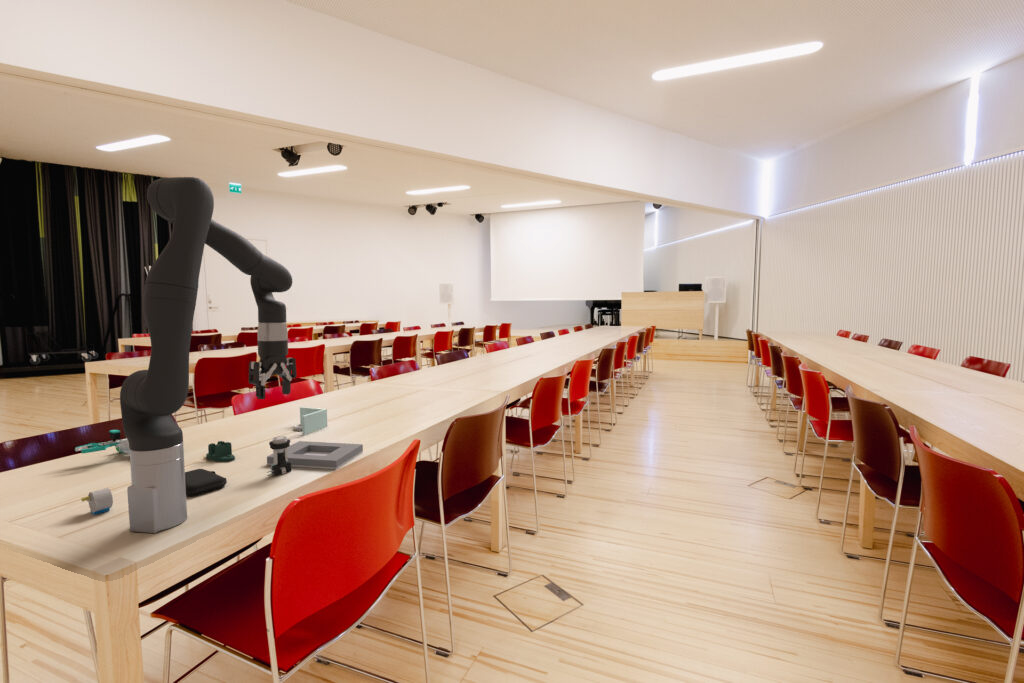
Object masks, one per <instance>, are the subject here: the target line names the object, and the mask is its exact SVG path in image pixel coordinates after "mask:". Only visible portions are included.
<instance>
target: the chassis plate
mask: <svg viewBox="0 0 1024 683" xmlns="http://www.w3.org/2000/svg"><path fill="white" fill-rule="evenodd" d="M363 445H364V444H362V443H347V442H346V443H342V442H324V441H323V442H322V441H305V440H302V441H301V440H299V441H296V442H294V443H291V445H290V446H289V447H287V459H288V461H287V462H290V463H291V468H292V467H293V468H313V469H327V470H338V469H340V468H341V467H342V466H345V464H347V463H348V462H350V461H351V460H353V459H355V458H356V457H358V456H359V455H361V454H362V453H363V452H364V446H363ZM273 463H274V456H273V453H272V454H270V455H267V456H266V464H267V466H272V465H273Z"/></svg>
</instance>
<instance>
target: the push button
mask: <svg viewBox="0 0 1024 683" xmlns="http://www.w3.org/2000/svg"><path fill="white" fill-rule="evenodd" d="M290 443H291V439H288V438H287V436H285V435H284V436H282V435H281V436H276V437H273V438H272V440H270V441H269V443H268V444H269V448H270V449H271V450H272V452H273V453H272V454H273V456H274V463H273V465H270V470H268V471H266V473H268V474H266V476H267V477H270V476H274V477H277V476H279V475H284V474H287V473H291V472H292V466H291V463H290V462H287V461H288V459H287V447H289V446H290ZM269 473H270V474H269Z"/></svg>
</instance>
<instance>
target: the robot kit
mask: <svg viewBox="0 0 1024 683" xmlns="http://www.w3.org/2000/svg"><path fill="white" fill-rule="evenodd" d="M108 432H109V433H108V434H109V439H110V440H108V441H104V442H97V443H96V442H90V443H86V444H82V445H79V446H76V447H75V448H74V451H75V452H79V451H80V452H81V454H89V453H93V452H94V453H95V452H101V451H106V450H107V449H108V448H110V447H115V450H116V451H117V452H118V453H120V454H125V453H127V454H129V455H130V449H129V442H128V439H127V437H125V438H123V439H122V438H121V430H119V429H111V430H109V431H108Z"/></svg>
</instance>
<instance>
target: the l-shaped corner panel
mask: <svg viewBox="0 0 1024 683" xmlns="http://www.w3.org/2000/svg"><path fill="white" fill-rule="evenodd" d="M299 419H300V421H299V422H300V423H298V424H296V425H294V426H293V430H294V431H298V432H301V431H302V432H301V433H302V435H304V436H306V435H308V434H310V433H314V432H316V431H319V430H323V429H325V428H328V409H327V408H318V407H317V408H316V407H306V406H300V407H299Z"/></svg>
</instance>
